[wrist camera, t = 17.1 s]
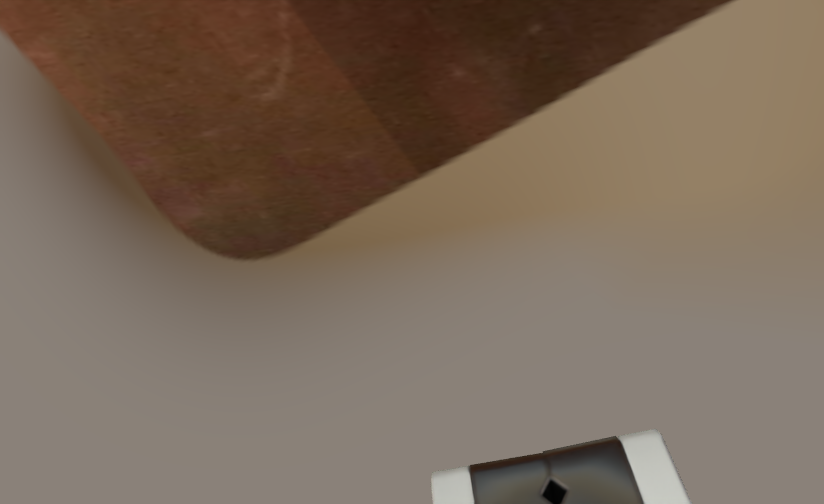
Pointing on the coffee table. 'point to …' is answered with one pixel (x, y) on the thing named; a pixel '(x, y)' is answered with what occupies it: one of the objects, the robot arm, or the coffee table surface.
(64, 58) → the coffee table surface
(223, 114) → the coffee table surface
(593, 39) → the coffee table surface
